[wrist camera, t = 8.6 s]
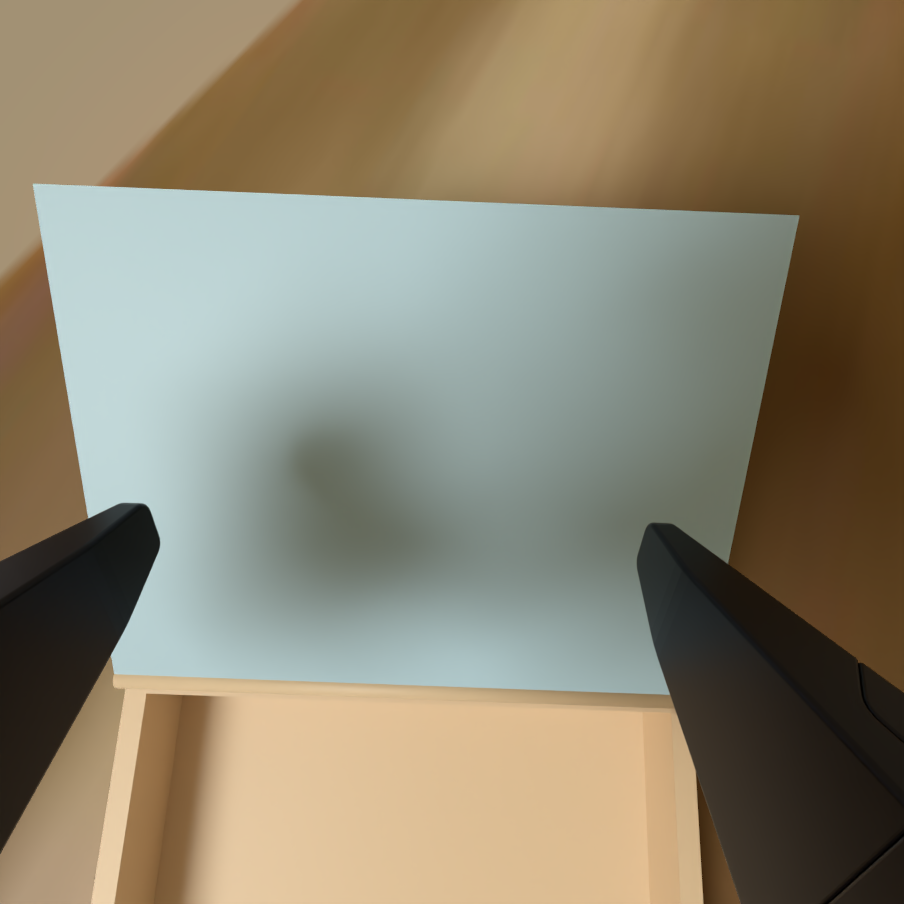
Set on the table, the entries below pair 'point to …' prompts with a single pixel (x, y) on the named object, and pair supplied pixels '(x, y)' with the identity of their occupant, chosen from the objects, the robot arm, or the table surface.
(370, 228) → the lid
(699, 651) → the robot arm
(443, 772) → the wooden tray
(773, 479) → the table surface
